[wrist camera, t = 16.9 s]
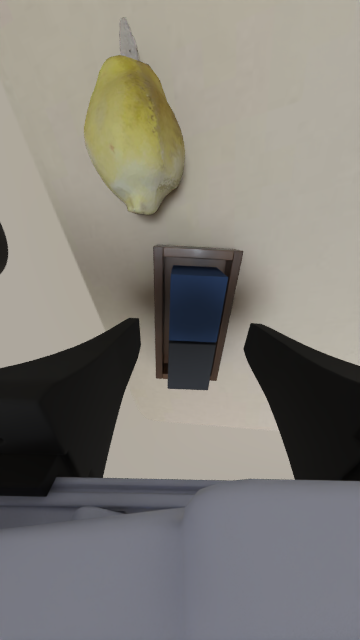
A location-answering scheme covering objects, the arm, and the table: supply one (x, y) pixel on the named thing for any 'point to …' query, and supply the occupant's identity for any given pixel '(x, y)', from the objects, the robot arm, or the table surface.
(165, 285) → the frame
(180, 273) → the blue rectangular block
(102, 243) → the table surface
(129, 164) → the fruit
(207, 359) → the dark grey rectangular block
